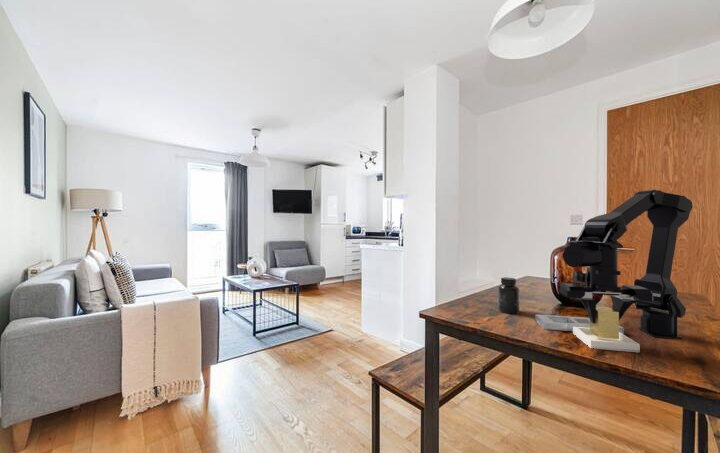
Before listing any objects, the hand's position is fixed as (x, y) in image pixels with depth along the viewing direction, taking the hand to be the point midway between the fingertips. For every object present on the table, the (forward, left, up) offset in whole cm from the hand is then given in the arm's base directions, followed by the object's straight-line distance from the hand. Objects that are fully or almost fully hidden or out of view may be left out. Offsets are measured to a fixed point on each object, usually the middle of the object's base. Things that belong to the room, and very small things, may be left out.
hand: (603, 323), depth 77 cm
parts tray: (0, 0, -5) cm, 5 cm away
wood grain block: (0, 0, -3) cm, 3 cm away
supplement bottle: (+18, -24, -5) cm, 30 cm away
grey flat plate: (+2, -11, -5) cm, 12 cm away
